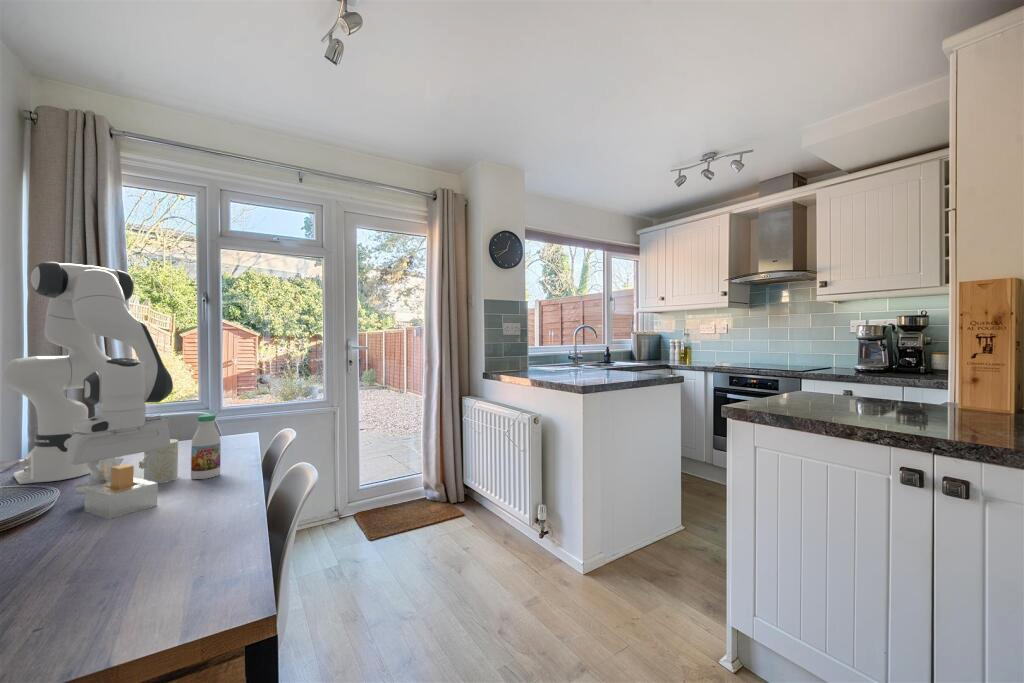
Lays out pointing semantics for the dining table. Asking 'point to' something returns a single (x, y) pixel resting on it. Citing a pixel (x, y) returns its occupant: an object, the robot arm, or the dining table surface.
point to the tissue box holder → (116, 494)
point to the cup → (163, 464)
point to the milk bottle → (205, 449)
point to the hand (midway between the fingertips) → (122, 472)
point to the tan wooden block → (122, 476)
